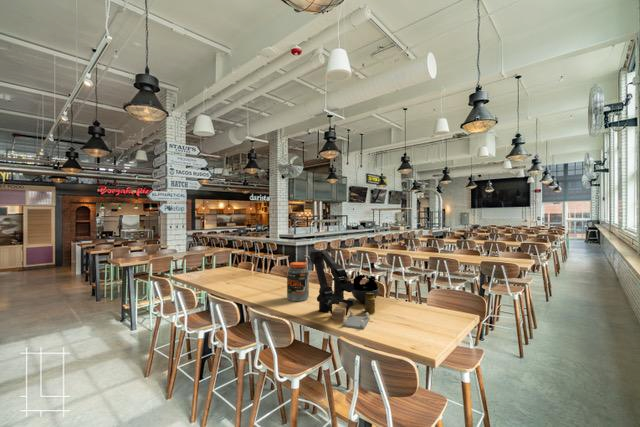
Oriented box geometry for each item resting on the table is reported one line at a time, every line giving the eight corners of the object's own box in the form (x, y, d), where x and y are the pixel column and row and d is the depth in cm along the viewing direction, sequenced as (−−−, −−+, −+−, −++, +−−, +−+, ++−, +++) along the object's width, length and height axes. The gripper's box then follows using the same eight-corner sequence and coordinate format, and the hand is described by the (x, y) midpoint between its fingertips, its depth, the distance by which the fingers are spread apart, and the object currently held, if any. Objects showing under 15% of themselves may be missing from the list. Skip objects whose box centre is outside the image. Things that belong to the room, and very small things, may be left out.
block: (341, 321, 171) (341, 313, 171) (331, 319, 173) (331, 312, 173) (345, 315, 181) (345, 308, 181) (335, 314, 182) (335, 307, 182)
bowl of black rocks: (351, 297, 219) (351, 272, 219) (378, 298, 216) (378, 272, 216) (349, 305, 199) (350, 277, 199) (380, 307, 196) (380, 278, 196)
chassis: (363, 329, 158) (363, 321, 158) (342, 326, 162) (342, 318, 162) (369, 319, 173) (369, 312, 173) (349, 316, 177) (349, 310, 177)
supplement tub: (284, 301, 208) (284, 264, 208) (290, 295, 224) (290, 261, 224) (306, 302, 206) (306, 265, 206) (310, 296, 221) (310, 261, 221)
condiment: (377, 312, 185) (377, 293, 185) (367, 315, 180) (367, 295, 180) (369, 309, 191) (369, 291, 191) (359, 312, 186) (359, 293, 186)
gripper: (319, 290, 173) (319, 317, 172) (350, 293, 166) (350, 321, 166) (325, 286, 183) (325, 311, 183) (355, 289, 176) (355, 315, 176)
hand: (338, 314), depth 177 cm, fingers open, 9 cm apart
